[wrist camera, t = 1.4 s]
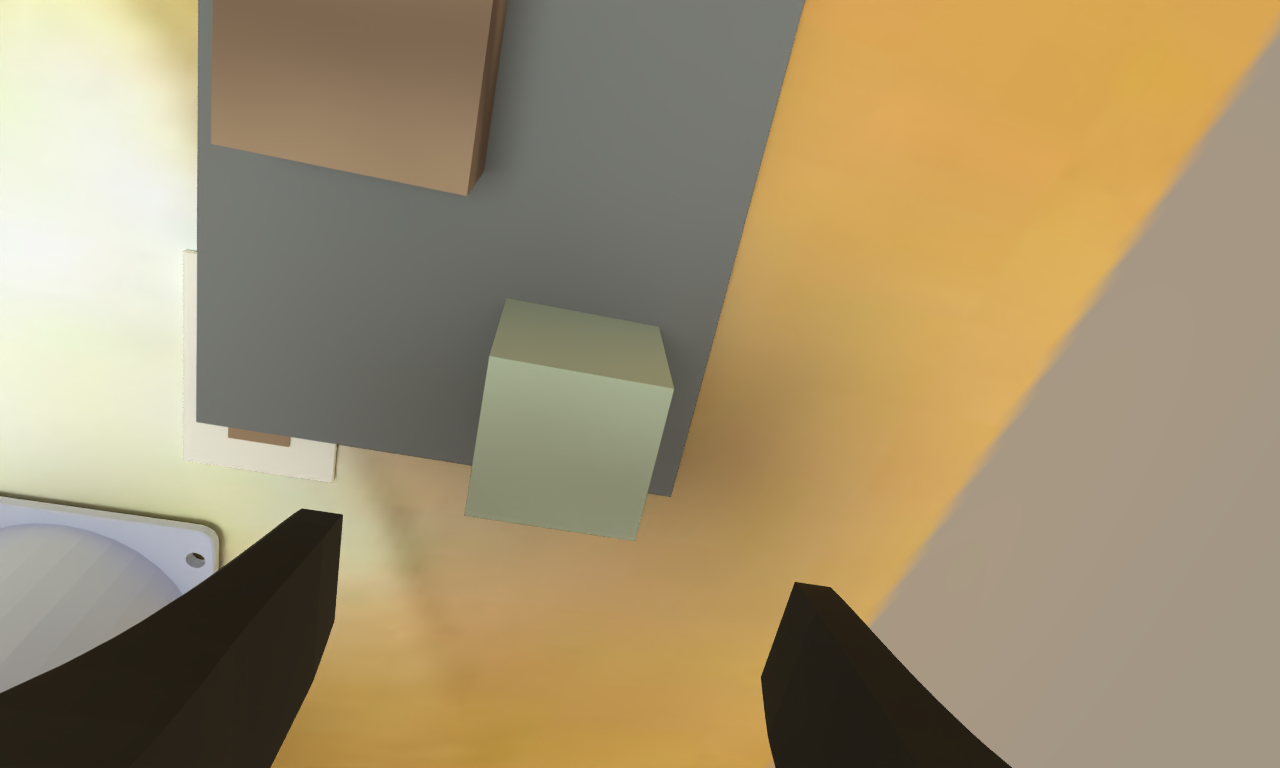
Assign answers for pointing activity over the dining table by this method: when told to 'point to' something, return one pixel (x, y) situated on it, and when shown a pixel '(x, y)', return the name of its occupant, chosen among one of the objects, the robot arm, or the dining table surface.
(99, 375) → the dining table surface
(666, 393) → the sage block
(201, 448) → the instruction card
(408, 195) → the slate mat
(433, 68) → the walnut block
